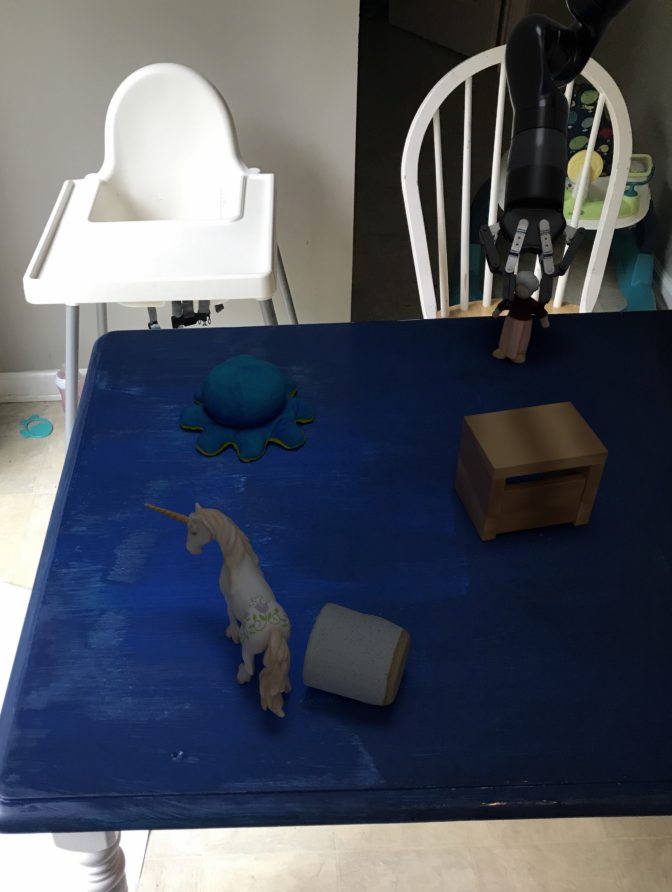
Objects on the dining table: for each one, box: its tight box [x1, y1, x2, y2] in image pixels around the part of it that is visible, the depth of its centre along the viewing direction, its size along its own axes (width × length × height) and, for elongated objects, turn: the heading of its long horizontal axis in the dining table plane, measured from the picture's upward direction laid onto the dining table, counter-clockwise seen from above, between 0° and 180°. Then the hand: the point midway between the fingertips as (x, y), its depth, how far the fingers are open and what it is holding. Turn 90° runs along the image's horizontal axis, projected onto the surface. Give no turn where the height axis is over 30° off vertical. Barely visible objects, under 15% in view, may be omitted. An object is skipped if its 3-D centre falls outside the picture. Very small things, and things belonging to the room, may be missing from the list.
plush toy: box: [179, 353, 316, 463], centre depth 103 cm, size 17×17×8 cm
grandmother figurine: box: [491, 270, 550, 364], centre depth 111 cm, size 8×4×13 cm, turn 72°
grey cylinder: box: [302, 602, 411, 706], centre depth 74 cm, size 11×8×8 cm
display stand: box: [454, 401, 609, 542], centre depth 89 cm, size 12×9×10 cm
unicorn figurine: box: [143, 502, 293, 718], centre depth 75 cm, size 7×20×13 cm, turn 36°
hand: (525, 305), depth 107 cm, fingers closed on grandmother figurine, 3 cm apart
